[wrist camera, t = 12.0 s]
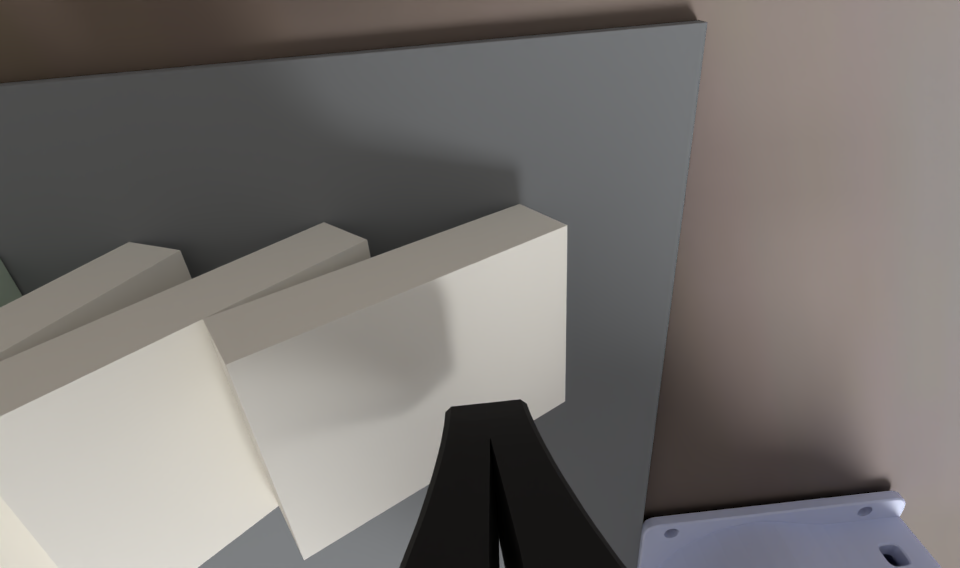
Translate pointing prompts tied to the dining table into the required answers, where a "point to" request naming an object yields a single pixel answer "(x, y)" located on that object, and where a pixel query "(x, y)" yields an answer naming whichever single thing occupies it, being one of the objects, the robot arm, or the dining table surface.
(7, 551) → the domino
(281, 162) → the mat
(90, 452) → the domino
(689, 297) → the dining table surface
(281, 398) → the domino
